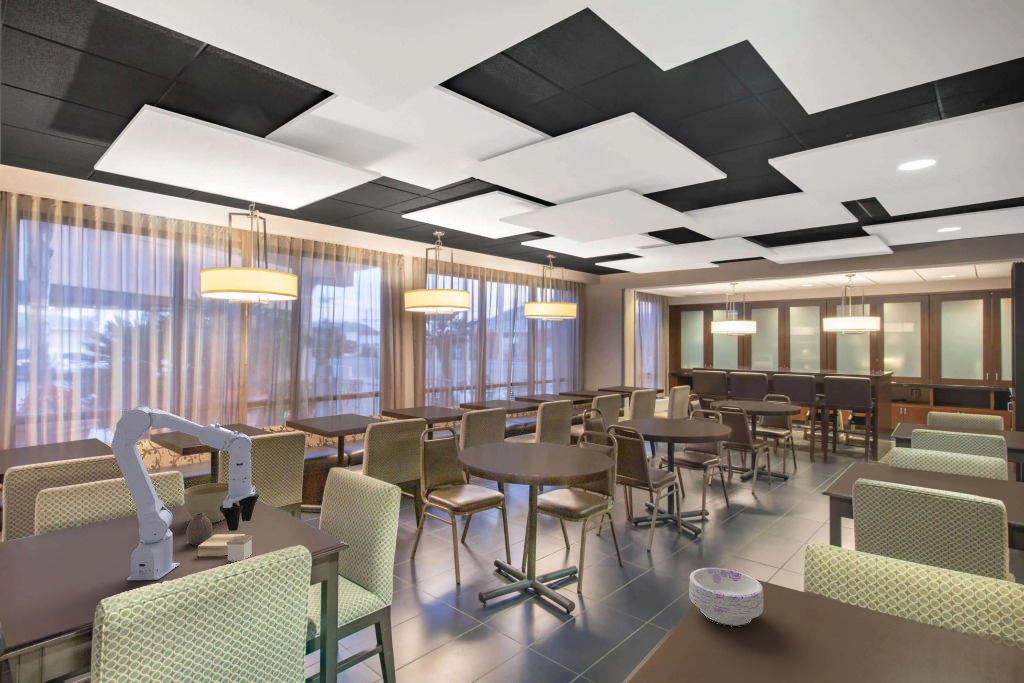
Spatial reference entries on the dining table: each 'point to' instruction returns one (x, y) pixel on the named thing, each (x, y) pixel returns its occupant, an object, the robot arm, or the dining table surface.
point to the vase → (199, 529)
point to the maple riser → (216, 545)
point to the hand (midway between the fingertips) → (240, 525)
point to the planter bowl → (206, 500)
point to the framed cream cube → (239, 547)
